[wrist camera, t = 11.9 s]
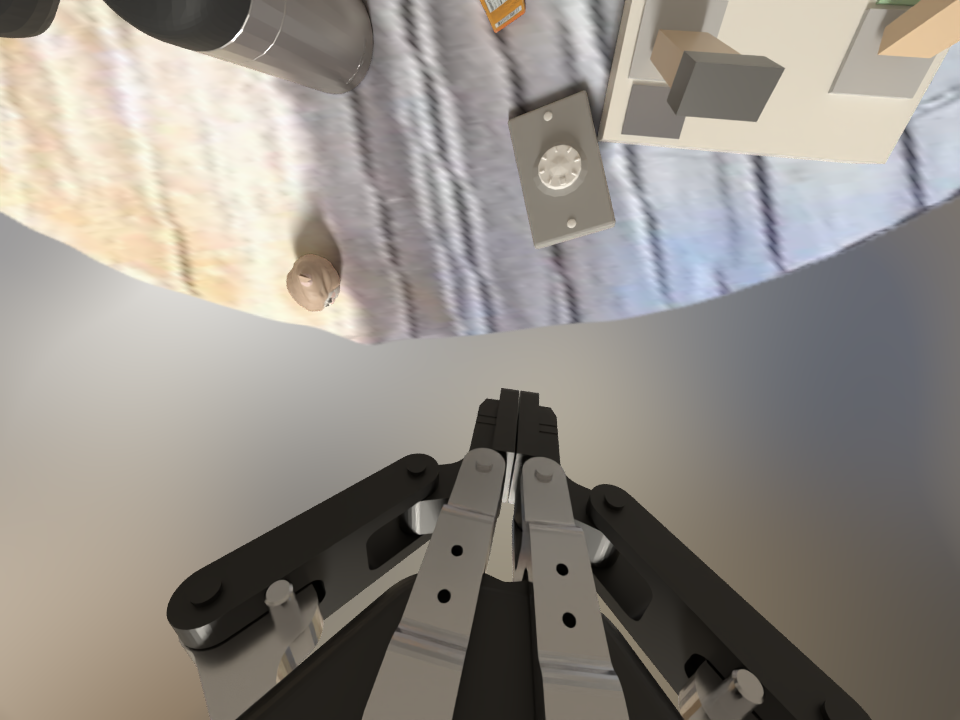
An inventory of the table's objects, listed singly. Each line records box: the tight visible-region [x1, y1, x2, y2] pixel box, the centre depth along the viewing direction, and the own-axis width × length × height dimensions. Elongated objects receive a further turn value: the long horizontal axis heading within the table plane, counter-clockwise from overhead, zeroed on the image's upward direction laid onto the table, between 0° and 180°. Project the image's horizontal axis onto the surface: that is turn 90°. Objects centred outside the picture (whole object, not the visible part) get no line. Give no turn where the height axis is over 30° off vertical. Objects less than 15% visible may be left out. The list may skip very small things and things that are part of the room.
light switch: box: [508, 90, 615, 249], centre depth 36 cm, size 8×5×13 cm
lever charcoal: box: [650, 29, 785, 122], centre depth 24 cm, size 2×4×14 cm, turn 85°
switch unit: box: [597, 0, 951, 164], centre depth 30 cm, size 14×24×4 cm, turn 86°
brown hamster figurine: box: [286, 254, 340, 311], centre depth 44 cm, size 7×6×8 cm
